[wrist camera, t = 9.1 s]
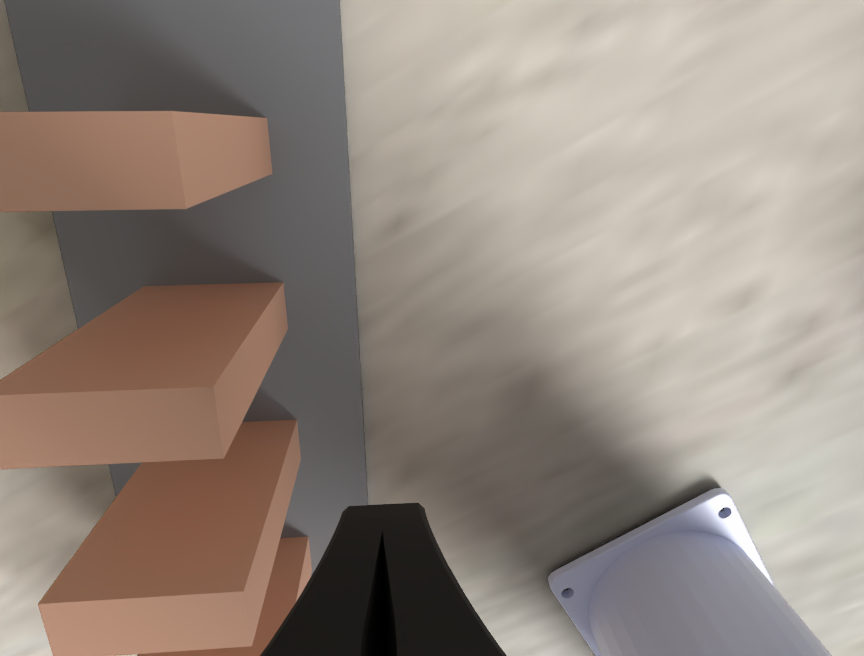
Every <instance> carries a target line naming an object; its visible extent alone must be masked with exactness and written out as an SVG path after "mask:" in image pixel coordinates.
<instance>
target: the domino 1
mask: <svg viewBox="0 0 864 656" xmlns="http://www.w3.org/2000/svg"><path fill="white" fill-rule="evenodd" d="M271 174H272V163H271V153H270V142H269V132H268V121H267V118H260V117H247V116H233V115H220V114H206V113H193V112H179V111H73V112H0V212H28V211H89V210H149V209H187V208H190V207H192V206H195V205H197V204H199V203H202V202H204V201H207V200H209V199H212V198H214V197H217V196H219V195H222V194H224V193H227V192H229V191H231V190H234V189H236V188H239V187H241V186H244V185H246V184H249V183H251V182H254V181H256V180H259V179H261V178H263V177H266V176H268V175H271Z"/></svg>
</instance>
